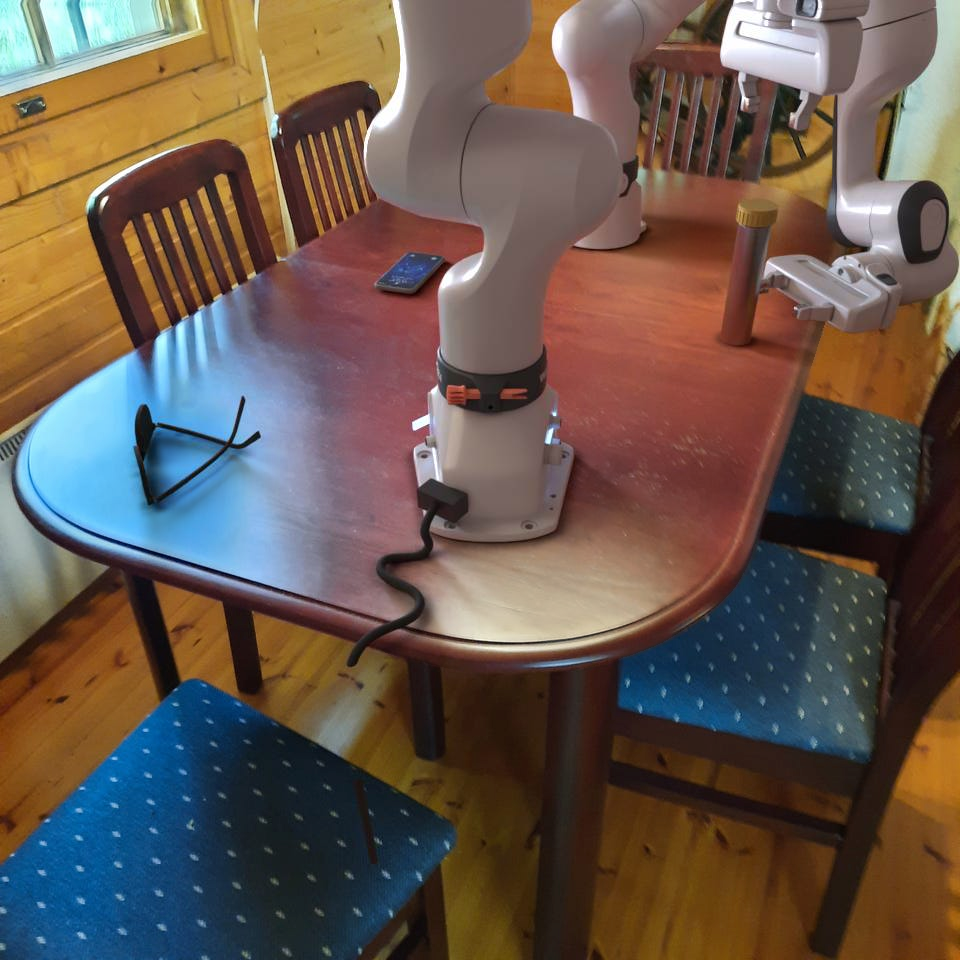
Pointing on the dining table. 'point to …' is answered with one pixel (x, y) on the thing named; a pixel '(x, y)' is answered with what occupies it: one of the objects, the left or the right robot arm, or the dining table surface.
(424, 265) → the smartphone
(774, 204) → the lid
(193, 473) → the sunglasses
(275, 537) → the dining table surface
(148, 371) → the dining table surface
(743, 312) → the grey metal cylinder
